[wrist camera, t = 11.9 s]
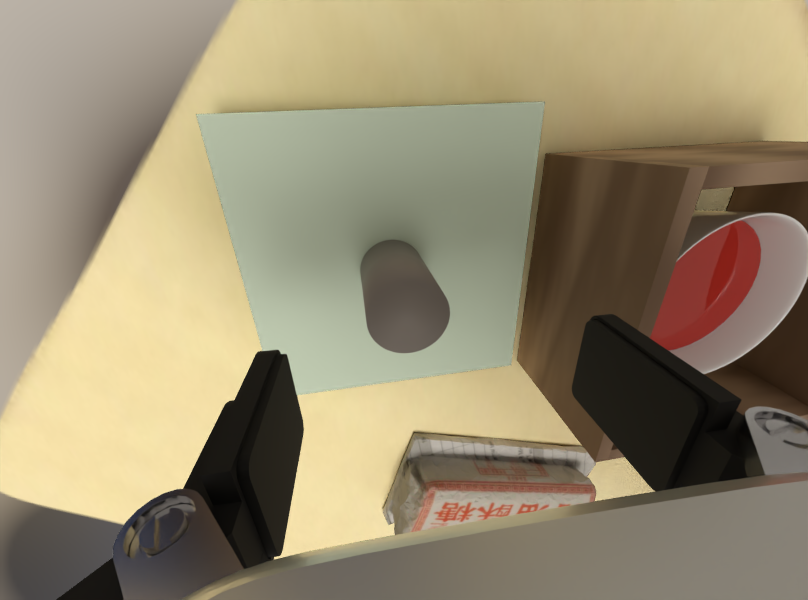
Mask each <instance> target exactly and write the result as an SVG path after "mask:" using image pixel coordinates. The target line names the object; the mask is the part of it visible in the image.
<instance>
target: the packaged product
mask: <svg viewBox="0 0 808 600" xmlns="http://www.w3.org/2000/svg"><path fill="white" fill-rule="evenodd" d="M595 465H596V462H595V461H594V460H593V459H592V458H591V456H590V455H589V454H588V452H587V451H586V450H585V448H584V447H582V446H565V447H563V446H558V445H553V444H541V443H532V442H523V441H513V440H506V439H497V438H494V439H493V438H472V437H461V436H447V435H438V434H426V433H414V434H413V437H412V439H411V441H410V443H409V446H408V448H407V451H406V453H405V455H404V458H403V460H402V463H401V465H400V468H399V470H398V473H397V476H396V479H395V481H394V483H393V486H392V488H391V490H390V493H389V496H388V498H387V501H386V503H385V506H384V509H383V514H384V516H385V518H386V520H387V522H388V524H389V525H390V524H392V523H394V524H395V527H394V531H395V535H399V534H404V533H410V532H416V531H422V530H428V529H434V528H439V527H445V526H451V525H457V524H463V523H468V522H474V521H480V520H486V519H492V518H498V517H504V516H510V515H516V514H522V513H528V512H534V511H540V510H546V509H552V508H558V507H564V506H570V505H576V504H582V503H588V502H594V501H595V496H596V489H595V486H594V485H593V484H592V482H591V481H590V479H589V478H588V477H587V476H588V474H589V473H590V472H591V470H592V469H593V467H594V466H595Z"/></svg>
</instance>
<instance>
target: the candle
mask: <svg viewBox="0 0 808 600" xmlns="http://www.w3.org/2000/svg"><path fill="white" fill-rule="evenodd" d="M807 278H808V232H807V231H806V229H805V228H804V226H803V225H802V224H801V223H800V222H798V221H797V220H796V219H794V218H792V217H790V216H787V215H784V214H780V213H772V212H745V211H706V210H694V212H693V215H692V218H691V221H690V224H689V227H688V230H687V232H686V235H685V238H684V241H683V244H682V247H681V250H680V253H679V256H678V258H677V261H676V264H675V267H674V270H673V273H672V276H671V279H670V282H669V285H668V287H667V290H666V293H665V296H664V299H663V302H662V305H661V308H660V311H659V313H658V316H657V319H656V322H655V325H654V328H653V331H652V334H651V337H650V339H652V340H653V341H655V342H656V343H658V344H659V345H661V346H662V347H664V348H665V349H667V350H668V351H670V352H671V353H673V354H674V355H676V356H677V357H679V358H680V359H682V360H683V361H685V362H686V363H688V364H689V365H691V366H692V367H694V368H695V369H697V370H698V371H700V372H701V373H703V374H706V373H709V372H712V371H714V370H717V369H719V368H722V367H724V366H726V365H728V364H730V363H731V362H733V361H735V360H737V359H738V358H740V357H742V356H743V355H745V354H746V353H747V352H749V351H750V350H752V349H753V348H754V347H755V346H757V345H758V344H759V343H760V342H762V341H763V340H764V339H765V338H766V337H767V336H768V335H769V334H770V333H771V332H772V331H773V330H774V329H775V328H776V327H777V326H778V325H779V324H780V323H781V321H782V320H783V319H784V318H785V316H786V315H787V314H788V313H789V311H790V310H791V308H792V307H793V305H794V304H795V302H796V301H797V299H798V297H799V295H800V294H801V292H802V290H803V288H804V285H805V283H806V280H807Z"/></svg>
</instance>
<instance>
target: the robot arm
mask: <svg viewBox="0 0 808 600" xmlns="http://www.w3.org/2000/svg"><path fill="white" fill-rule="evenodd" d="M572 394H573V396H574V398H575V399H576V400H577V401H578V403H579V404H580V405H581V406H582V407H583V409H584V410H585V411H586V412H587V413H588V414H589V416H590V417H591V418H592V419H593V420H594V421H595V423H596V424H597V425H598V426H599V427H600V428H601V430H602V431H603V432H604V433H605V434H606V435H607V437H608V438H609V439H610V440H611V441H612V442H613V444H614V445H615V446H616V447H617V448H618V450H619V451H620V452H621V453H622V454H623V455H624V457H625V458H626V459H627V460H628V461H629V462H630V464H631V465H632V466H633V467H634V468H635V469H636V471H637V472H638V473H639V474H640V475H641V476H642V478H643V479H644V480H645V481H646V482H647V484H648V485H649V486H650V487H651V488H652V489H653V490H654V491H656V492H650V493H644V494H638V495H631V496H625V497H619V498H612V499H606V500H600V501H594V502H588V503H582V504H576V505H570V506H564V507H558V508H552V509H546V510H540V511H534V512H528V513H522V514H516V515H510V516H504V517H498V518H492V519H486V520H480V521H474V522H468V523H463V524H457V525H451V526H445V527H439V528H434V529H428V530H422V531H416V532H410V533H404V534H399V535H393V536H387V537H381V538H376V539H371V540H366V541H360V542H355V543H350V544H345V545H339V546H334V547H329V548H324V549H318V550H313V551H308V552H304V553H300V554H296V555H292V556H288V557H283V558H279V559H275V560H274V557H276V556H280V555H281V553H282V550H283V545H284V539H285V534H286V528H287V522H288V517H289V511H290V506H291V500H292V494H293V489H294V483H295V478H296V472H297V466H298V461H299V455H300V450H301V444H302V438H303V431H304V427H303V420H302V415H301V411H300V407H299V403H298V398H297V394H296V390H295V386H294V381H293V377H292V373H291V369H290V364H289V360H288V356H287V354H281V353H280V351H279V350H269V351H260V352H257V354H256V355H255V358H254V360H253V362H252V364H251V366H250V368H249V370H248V373H247V375H246V377H245V379H244V381H243V383H242V385H241V388H240V390H239V392H238V394H237V396H236V398H235V400H233V401H229V402H227V403H226V404H225V406H224V408H223V410H222V412H221V414H220V416H219V418H218V420H217V422H216V424H215V426H214V428H213V430H212V432H211V434H210V436H209V438H208V440H207V442H206V444H205V446H204V448H203V450H202V452H201V454H200V456H199V458H198V460H197V462H196V464H195V466H194V468H193V470H192V472H191V474H190V476H189V478H188V480H187V482H186V484H185V486H184V488H183V489H176V490H173V491H170V492H167V493H164V494H162V495H160V496H158V497H156V498H154V499H152V500H150V501H149V502H148V503H146V504H145V505H144V506H142V507H141V508H140V509H138V510H137V511H136V512H135V513H134V514H133V515H132V516H131V517H130V518H129V519H128V520H127V521H126V523H125V524H124V526H123V527H122V529H121V530H120V532H119V533H118V535H117V537H116V540H115V543H114V545H113V558H112V559H110V560H109V561H108V562H106V563H105V564H104V565H102V566H101V567H100V568H98V569H97V570H96V571H94V572H93V573H92V574H90V575H89V576H88V577H86V578H85V579H83V580H82V581H81V582H79V583H78V584H77V585H76V586H74V587H73V588H71V589H70V590H69V591H67V592H66V593H65V594H63V595H62V596H61V597H59V598H58V599H57V600H808V420H806V419H804V418H802V417H799V416H797V415H795V414H792V413H789V412H786V411H783V410H780V409H775V408H770V407H757V406H756V407H752V408H749V409H748V410H747V411H746V412H745V413H744V415H742V414H741V413H739V412H738V411H736V410H737V408H738V406H739V404H740V402H741V400H742V399H740V398H739V397H737V396H736V395H734V394H733V393H731V392H730V391H728V390H727V389H725V388H724V387H722V386H721V385H719V384H718V383H716V382H715V381H713V380H712V379H710V378H709V377H707V376H706V375H704V374H703V373H701V372H700V371H698V370H697V369H695V368H694V367H692V366H691V365H689V364H688V363H686V362H685V361H683V360H682V359H680V358H679V357H677V356H676V355H674V354H673V353H671V352H670V351H668V350H667V349H665V348H664V347H662V346H661V345H659V344H658V343H656V342H655V341H653V340H652V339H650V338H649V337H647V336H646V335H644V334H643V333H641V332H640V331H638V330H637V329H635V328H634V327H632V326H631V325H629V324H628V323H626V322H625V321H623V320H622V319H620V318H619V317H617V316H616V315H614V314H605V315H596V316H593V317H591V319H590V321H588V322H587V323H586V325H585V329H584V333H583V338H582V342H581V347H580V351H579V356H578V360H577V365H576V369H575V374H574V378H573V383H572Z"/></svg>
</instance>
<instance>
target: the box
mask: <svg viewBox="0 0 808 600" xmlns="http://www.w3.org/2000/svg"><path fill="white" fill-rule="evenodd" d="M726 187H735V190H734V193H733V195H732V198H731V200H730V203H729V205H728V208H727V211H745V212H772V213H780V214H784V215H787V216H790V217H792V218H794V219H796V220H797V221H798V222H800V223H801V224H802V225H803V226H804V228H805V229H806V231H807V232H808V142H782V141H758V142H741V143H723V144H706V145H688V146H671V147H654V148H636V149H619V150H601V151H584V152H567V153H549V154H546V155H545V163H544V170H543V177H542V184H541V192H540V199H539V206H538V213H537V221H536V228H535V235H534V242H533V250H532V257H531V264H530V271H529V279H528V286H527V293H526V300H525V308H524V315H523V322H522V329H521V337H520V344H519V351H518V358H517V361H518V362H519V364H520V365H521V366H522V368H523V369H524V370H525V371H526V373H527V374H528V375H529V377H530V378H531V379H532V381H533V382H534V383H535V385H536V386H537V387H538V388H539V390H540V391H541V392H542V394H543V395H544V396H545V398H546V399H547V400H548V401H549V403H550V404H551V405H552V407H553V408H554V409H555V411H556V412H557V413H558V415H559V416H560V417H561V418H562V420H563V421H564V422H565V424H566V425H567V426H568V428H569V429H570V430H571V431H572V433H573V434H574V435H575V437H576V438H577V439H578V441H579V442H580V443H581V445H582V446H583V447H584V448H585V450H586V451H587V452H588V454H589V455H590V456H591V458H592V459H593V460H594V461H595V462H599V461H605V460H610V459H616V458H621V457H624V455H623V454H622V453H621V452H620V451H619V450H618V448H617V447H616V446H615V445H614V444H613V442H612V441H611V440H610V439H609V438H608V437H607V435H606V434H605V433H604V432H603V431H602V430H601V428H600V427H599V426H598V425H597V424H596V423H595V421H594V420H593V419H592V418H591V417H590V416H589V414H588V413H587V412H586V411H585V410H584V409H583V407H582V406H581V405H580V404H579V403H578V401H577V400H576V399H575V398H574V396H573V394H572V383H573V378H574V374H575V369H576V365H577V360H578V356H579V351H580V347H581V342H582V338H583V333H584V329H585V325H586V323H587V322H588V321H590V319H591V317H593V316H596V315H605V314H614V315H616V316H617V317H619V318H620V319H622V320H623V321H625V322H626V323H628V324H629V325H631V326H632V327H634V328H635V329H637V330H638V331H640V332H641V333H643V334H644V335H646V336H647V337H649V338H650V337H651V334H652V331H653V328H654V325H655V322H656V319H657V316H658V313H659V311H660V308H661V305H662V302H663V299H664V296H665V293H666V290H667V287H668V285H669V282H670V279H671V276H672V273H673V270H674V267H675V264H676V261H677V258H678V256H679V253H680V250H681V247H682V244H683V241H684V238H685V235H686V232H687V230H688V227H689V224H690V221H691V218H692V215H693V212H694V209H695V206H696V204H697V201H698V198H699V195H700V192H701V189H713V188H726ZM704 375H706V376H707V377H709V378H710V379H712V380H713V381H715V382H716V383H718V384H719V385H721V386H722V387H724V388H725V389H727V390H728V391H730V392H731V393H733V394H734V395H736V396H737V397H739V398H740V399H742V400H741V402H740V404H739V406H738V408H737V410H736V411H738V412H739V413H741V414H742V415H744V413H745V412H746V411H747V410H748V409H749V408H752V407H756V406H757V407H770V408H775V409H780V410H783V411H786V412H789V413H792V414H795V415H797V416H799V417H802V418H804V419H806V420H808V278H807V280H806V283H805V285H804V288H803V290H802V292H801V294H800V295H799V297H798V299H797V301H796V302H795V304H794V305H793V307H792V308H791V310H790V311H789V313H788V314H787V315H786V316H785V318H784V319H783V320H782V321H781V323H780V324H779V325H778V326H777V327H776V328H775V329H774V330H773V331H772V332H771V333H770V334H769V335H768V336H767V337H766V338H765V339H764V340H763V341H762V342H760V343H759V344H758V345H757V346H755V347H754V348H753V349H752V350H750V351H749V352H747V353H746V354H745V355H743V356H742V357H740V358H738V359H737V360H735V361H733V362H731V363H730V364H728V365H726V366H724V367H722V368H719V369H717V370H714V371H712V372H709V373H706V374H704Z"/></svg>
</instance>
